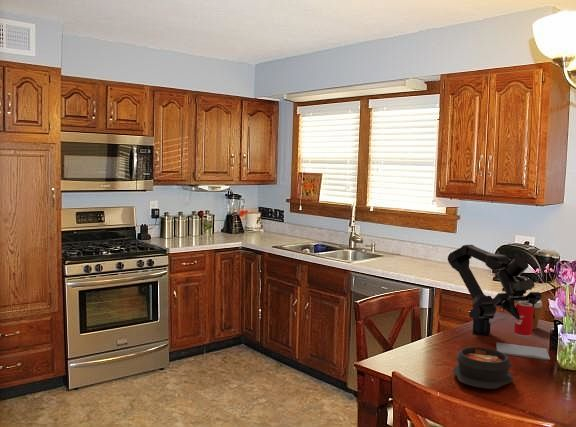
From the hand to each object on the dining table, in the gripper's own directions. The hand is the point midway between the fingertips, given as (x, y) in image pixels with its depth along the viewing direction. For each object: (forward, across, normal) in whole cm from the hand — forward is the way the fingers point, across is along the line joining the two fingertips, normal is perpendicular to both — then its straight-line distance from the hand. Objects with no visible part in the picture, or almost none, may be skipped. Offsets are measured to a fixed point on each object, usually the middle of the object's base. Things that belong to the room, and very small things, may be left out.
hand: (526, 318), depth 202 cm
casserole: (+23, -31, -4) cm, 39 cm away
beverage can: (+4, 0, +6) cm, 7 cm away
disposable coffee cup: (-10, +25, +30) cm, 41 cm away
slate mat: (+8, 0, +10) cm, 13 cm away
